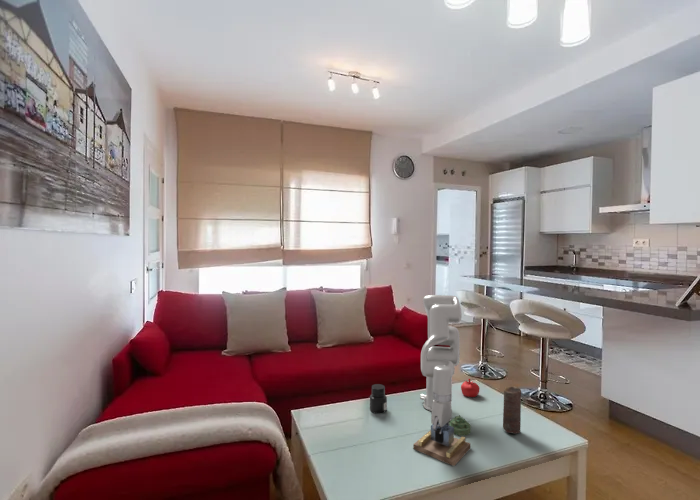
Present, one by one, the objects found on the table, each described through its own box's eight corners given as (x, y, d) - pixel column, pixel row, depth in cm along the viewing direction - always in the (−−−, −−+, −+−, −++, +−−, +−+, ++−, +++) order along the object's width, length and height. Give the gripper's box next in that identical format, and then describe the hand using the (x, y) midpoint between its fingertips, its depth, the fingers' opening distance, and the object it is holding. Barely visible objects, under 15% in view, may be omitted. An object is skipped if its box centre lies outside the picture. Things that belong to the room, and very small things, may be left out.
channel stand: (413, 448, 152) (413, 439, 152) (431, 433, 164) (431, 424, 164) (454, 466, 140) (454, 456, 140) (470, 448, 152) (470, 438, 152)
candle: (522, 437, 161) (523, 392, 160) (504, 435, 162) (505, 391, 162) (518, 428, 168) (518, 385, 168) (501, 426, 170) (501, 384, 169)
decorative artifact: (470, 426, 170) (448, 423, 174) (471, 412, 170) (449, 408, 173) (470, 437, 161) (447, 433, 164) (470, 422, 161) (447, 418, 164)
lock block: (430, 439, 153) (430, 425, 153) (436, 434, 156) (436, 421, 156) (448, 446, 147) (448, 432, 147) (453, 441, 151) (453, 427, 151)
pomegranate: (477, 400, 198) (477, 384, 198) (458, 396, 203) (459, 380, 203) (481, 393, 207) (481, 377, 206) (463, 389, 212) (463, 374, 211)
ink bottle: (389, 413, 183) (389, 389, 183) (372, 415, 181) (372, 391, 181) (383, 404, 193) (383, 382, 193) (367, 406, 191) (367, 383, 190)
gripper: (443, 387, 160) (443, 428, 161) (424, 400, 147) (424, 444, 148) (459, 392, 156) (459, 433, 156) (441, 405, 143) (441, 451, 143)
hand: (442, 438), depth 152 cm, fingers closed on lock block, 5 cm apart
